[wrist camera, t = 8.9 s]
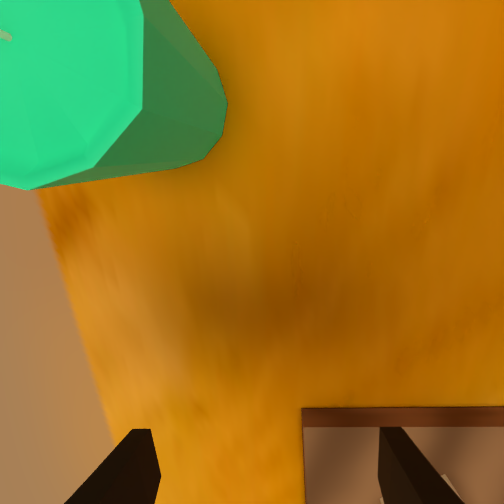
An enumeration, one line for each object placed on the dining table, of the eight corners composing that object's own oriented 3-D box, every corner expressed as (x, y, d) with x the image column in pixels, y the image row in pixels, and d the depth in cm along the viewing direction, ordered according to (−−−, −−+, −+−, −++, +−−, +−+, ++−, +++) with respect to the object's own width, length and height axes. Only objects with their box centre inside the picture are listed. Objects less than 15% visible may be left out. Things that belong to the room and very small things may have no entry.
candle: (159, 189, 17) (-74, 262, 6) (87, 88, 16) (-397, -78, 4) (250, 125, 16) (185, 52, 4) (180, 9, 15) (-168, -520, 3)
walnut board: (562, 406, 19) (585, 426, 18) (523, 557, 23) (539, 583, 22) (301, 408, 21) (303, 427, 19) (307, 549, 25) (309, 573, 24)
